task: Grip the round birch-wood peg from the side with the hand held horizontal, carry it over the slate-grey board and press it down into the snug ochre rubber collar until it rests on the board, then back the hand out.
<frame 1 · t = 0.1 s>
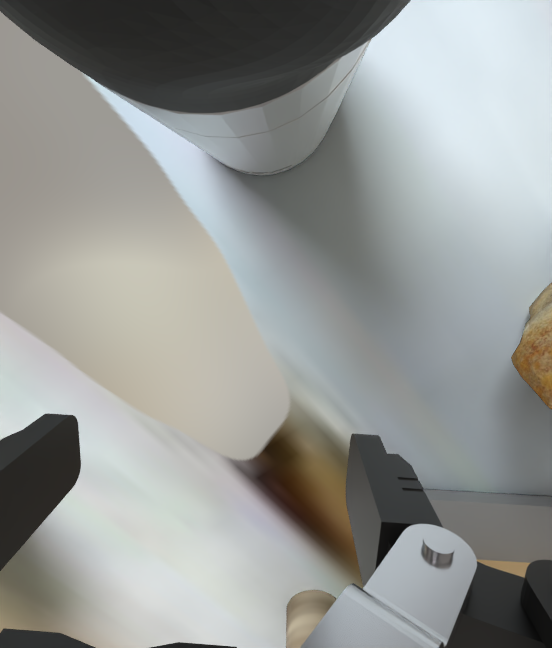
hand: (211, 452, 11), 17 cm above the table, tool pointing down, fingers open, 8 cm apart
wooden peg: (313, 610, 36), on the table
collar board: (498, 589, 34), on the table
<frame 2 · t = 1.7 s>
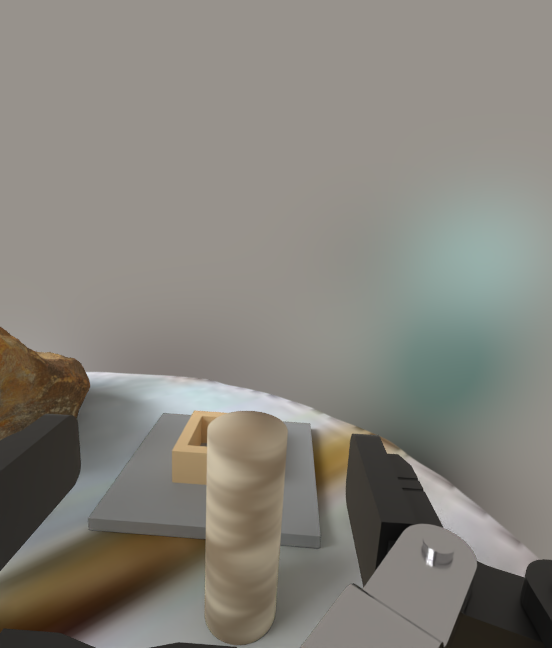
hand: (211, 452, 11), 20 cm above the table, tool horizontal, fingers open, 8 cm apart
rough brown rock: (16, 432, 49), on the table
wooden peg: (240, 608, 28), on the table
collar board: (223, 470, 43), on the table
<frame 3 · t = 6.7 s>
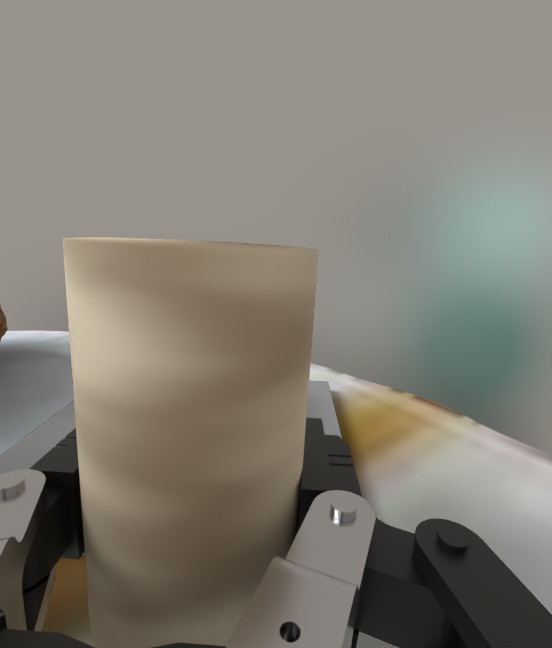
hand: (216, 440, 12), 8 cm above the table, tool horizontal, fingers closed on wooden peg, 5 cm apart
collar board: (194, 442, 27), on the table
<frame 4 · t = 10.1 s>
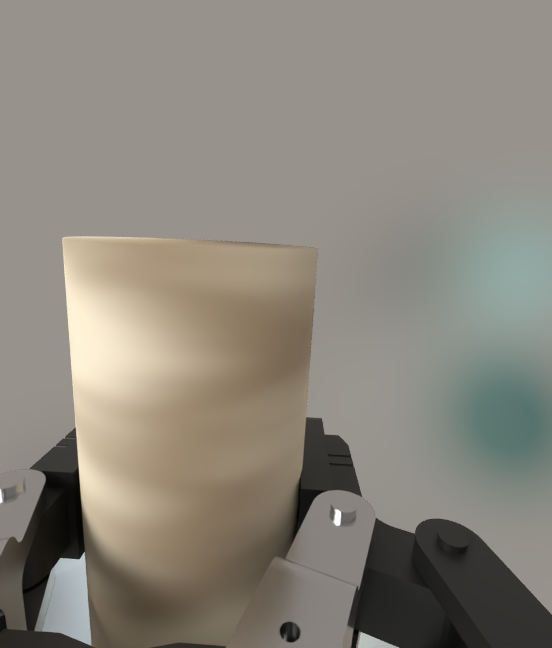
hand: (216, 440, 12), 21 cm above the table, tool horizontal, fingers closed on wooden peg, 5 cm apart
when the fingers open (10 cm above the table, at t = 13.5 s): wooden peg stays where it is, resting on collar board.
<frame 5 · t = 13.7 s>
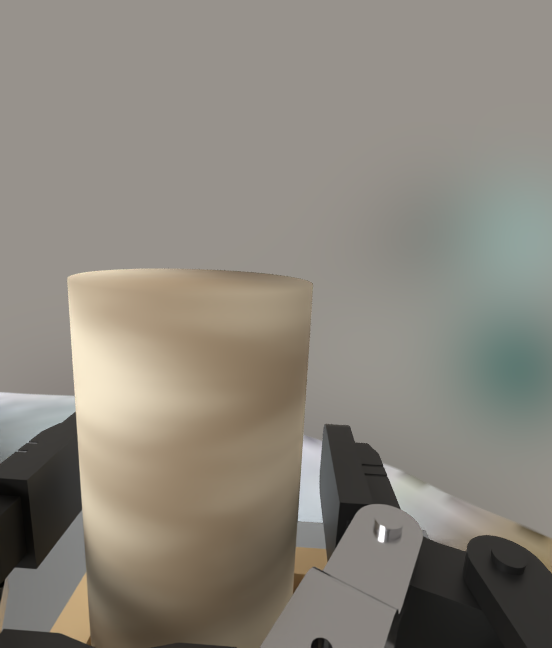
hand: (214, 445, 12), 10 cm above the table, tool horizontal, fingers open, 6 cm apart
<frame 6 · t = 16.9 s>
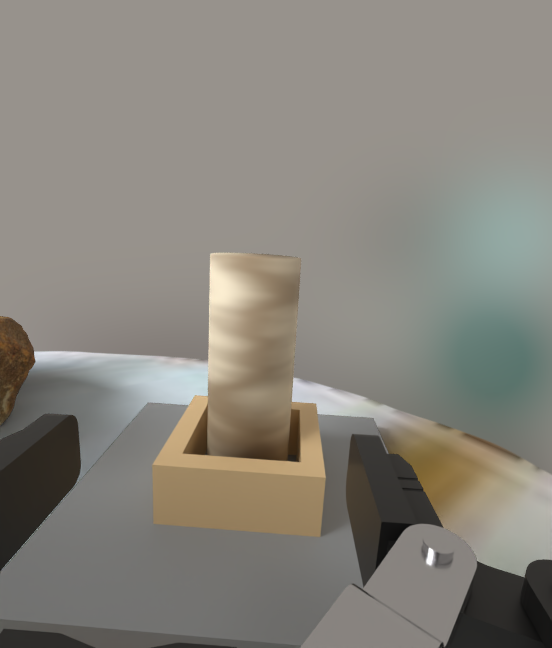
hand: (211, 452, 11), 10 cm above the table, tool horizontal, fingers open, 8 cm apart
wooden peg: (246, 479, 25), point 1 cm above the table, touching collar board
collar board: (245, 495, 25), on the table
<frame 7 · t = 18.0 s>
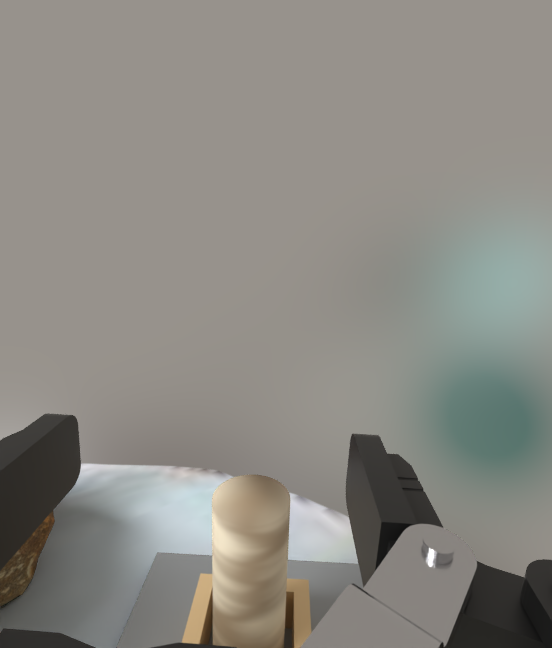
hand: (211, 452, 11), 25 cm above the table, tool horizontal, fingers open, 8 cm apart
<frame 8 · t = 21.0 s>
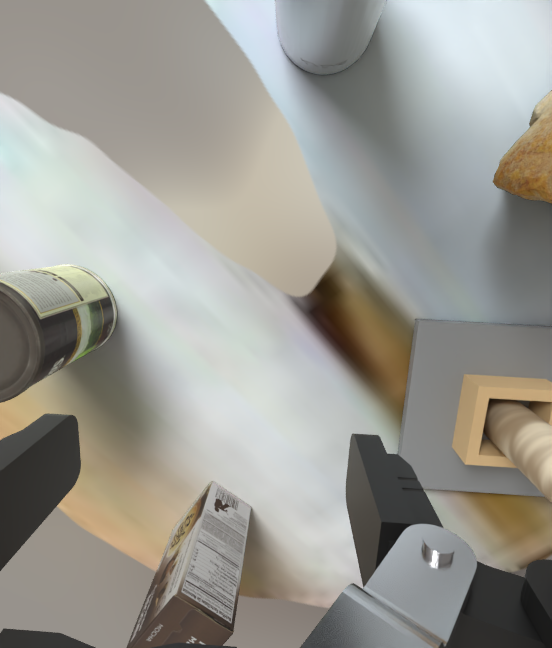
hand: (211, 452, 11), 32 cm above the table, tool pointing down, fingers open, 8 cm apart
coffee can: (73, 308, 44), on the table
wooden peg: (497, 414, 43), point 1 cm above the table, touching collar board
collar board: (492, 409, 45), on the table
coffee box: (212, 516, 49), on the table
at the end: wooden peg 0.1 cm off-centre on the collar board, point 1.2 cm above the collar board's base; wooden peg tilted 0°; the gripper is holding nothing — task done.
